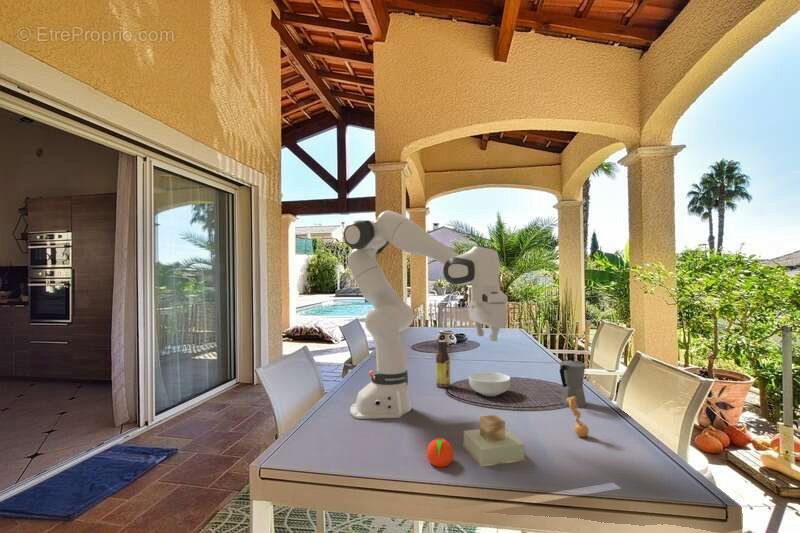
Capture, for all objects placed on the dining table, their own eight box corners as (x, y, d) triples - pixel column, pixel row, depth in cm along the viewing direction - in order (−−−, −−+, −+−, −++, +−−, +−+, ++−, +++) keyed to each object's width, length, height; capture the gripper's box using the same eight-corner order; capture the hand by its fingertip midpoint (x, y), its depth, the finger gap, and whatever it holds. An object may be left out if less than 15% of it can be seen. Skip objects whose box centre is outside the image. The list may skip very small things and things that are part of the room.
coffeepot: (569, 396, 155) (568, 351, 156) (593, 402, 148) (592, 355, 148) (549, 405, 146) (548, 357, 146) (574, 412, 138) (573, 361, 138)
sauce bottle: (449, 388, 168) (448, 342, 168) (435, 387, 169) (434, 342, 169) (450, 384, 174) (450, 340, 175) (436, 383, 176) (436, 339, 176)
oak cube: (488, 442, 104) (487, 423, 104) (480, 434, 108) (479, 416, 108) (505, 439, 105) (504, 421, 105) (496, 432, 110) (496, 414, 110)
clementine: (453, 476, 96) (452, 447, 96) (425, 474, 97) (424, 445, 97) (454, 460, 104) (453, 434, 104) (428, 459, 105) (427, 432, 105)
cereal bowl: (515, 391, 163) (515, 374, 163) (503, 402, 149) (503, 384, 149) (477, 385, 172) (477, 369, 172) (462, 395, 158) (462, 378, 158)
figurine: (587, 443, 113) (587, 402, 114) (565, 439, 116) (565, 399, 117) (589, 432, 121) (588, 394, 121) (568, 429, 124) (567, 391, 124)
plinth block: (482, 465, 99) (482, 449, 99) (463, 445, 111) (463, 430, 111) (524, 459, 102) (523, 444, 102) (501, 440, 114) (501, 426, 114)
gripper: (464, 294, 135) (464, 333, 134) (491, 297, 115) (492, 344, 114) (480, 293, 136) (481, 333, 136) (510, 297, 116) (511, 343, 116)
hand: (486, 338), depth 125 cm, fingers open, 8 cm apart
